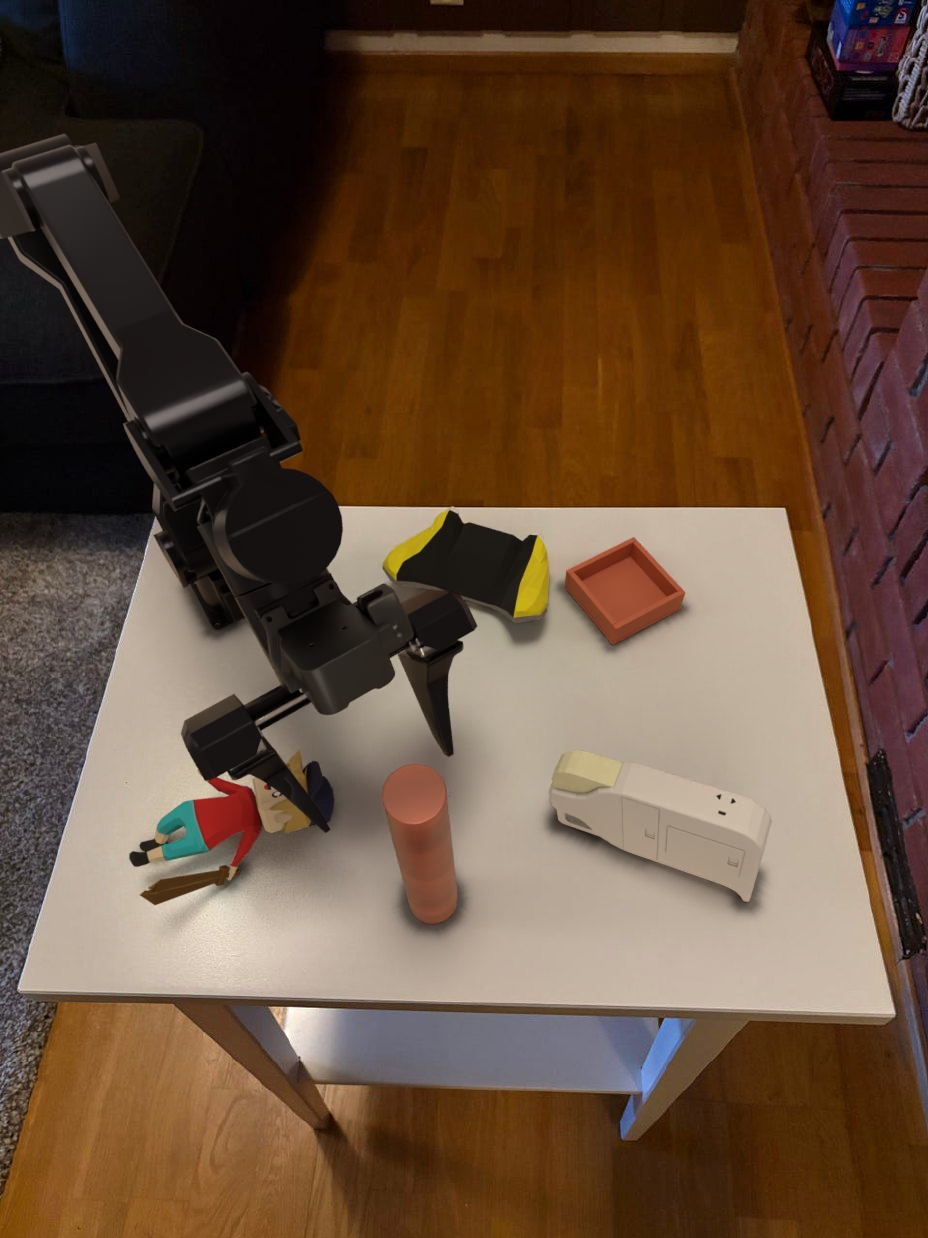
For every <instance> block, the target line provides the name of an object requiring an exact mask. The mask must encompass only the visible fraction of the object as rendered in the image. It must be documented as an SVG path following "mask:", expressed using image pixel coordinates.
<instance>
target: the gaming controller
mask: <svg viewBox="0 0 928 1238" xmlns="http://www.w3.org/2000/svg"><path fill="white" fill-rule="evenodd" d="M459 511H460V510H459V508H457V507H455V506H453V505H452V506H450V507H448V508H446V509H445V510H444V511H442V512H440V513H439V514H438V515H436V517H435V519H434V521H433V523H432V524H431V525H430V526H429V527H427V528H425V529H423V530H422V531H420V532H419V533H416V534H415V535H413V536H411V537H410V538H408V539H406V540H405V541H403V542H401V543H400V544H397V545H396V546H394V547H393V548H392V549H391V551H389V552H388V553H387V555H386V557H385V558H384V560H383V562H382V570H383V572H384V573H385V575H386V577H387V578H388V579H389V581H390V582H391V583H392V584H394V585H396V586H403V587H410V588H418V589H424V590H426V589H432V590H442V591H451V592H453V593H456V594H459V595H460V596H461V597H462V598H463V599H464V600H465V601H468V602H471V603H475V604H477V605H480V606H485V607H487V608H490V609H493V610H495V611H497V612H500V613H501V614H503V615H504V616H505V617H507V619H509V620H510V621H511V622H513V623H517V624H521V623H526V622H531V621H535V620H540V619H542V618H543V617H544V616H545V615H546V614H547V613H548V607H549V593H550V563H549V558H548V551H547V547H546V544H545V542H544V540H545V539H544V535H543V534H542V532H541V531H539V530H534V531H533V532H532V533H530V534H528V535H527V537H525V538H524V539H520V538H519V537H517V536H516V535H514V534H511V533H508V532H504V531H502V530H497V529H495V528H492V527H487V526H485V525H480V524H477V523H474V522H470V521H468V522H464V521H463V520H462V519H461V516H460V513H459Z"/></svg>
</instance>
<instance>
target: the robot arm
mask: <svg viewBox="0 0 928 1238" xmlns="http://www.w3.org/2000/svg"><path fill="white" fill-rule="evenodd" d="M121 199H122V197H121V195H120V193H119V190H118V189H117V186H116V184H115V182H114V179H113V177H112V175H111V172H110V170H109V168H108V166H107V164H106V161H105V159H104V157H103V154H102V152H101V150H100V148H99V146H98V143H97V142H92V143H89V144H85V145H79V144H76V145H74V143H73V142H72V140H71V139H70V138H69V136H68V135H67V134H66V133H61V134H58V135H56V136H52V137H48V138H45V139H42V140H39V141H36V142H33V143H29V144H26V145H23V146H19V147H17V148H12V149H10V150H6V151H3V152H0V239H1V240H3V239H8V241H9V243H10V245H11V247H12V249H13V250H14V253H15V254H16V256H17V258H18V260H19V261H20V262H21V263H22V264H23V265H25V266H26V267H28V268H29V269H30V270H32V271H33V272H35V273H36V274H38V275H39V276H40V277H42V278H43V279H44V280H46V281H47V282H48V283H50V284H51V285H53V286H54V287H56V288H57V289H58V290H59V291H60V293H61V295H62V297H63V298H64V300H65V302H66V304H67V306H68V308H69V310H70V312H71V314H72V316H73V318H74V320H75V321H76V324H77V325H78V327H79V329H80V331H81V333H82V335H83V337H84V339H85V341H86V343H87V345H88V347H89V349H90V350H91V353H92V355H93V357H94V358H95V360H96V362H97V364H98V366H99V369H100V370H101V372H102V374H103V376H104V378H105V379H106V381H107V384H108V386H109V387H110V390H111V391H112V393H113V395H114V398H115V399H116V401H117V403H118V405H119V407H120V408H121V411H122V413H123V415H124V416H125V418H126V420H127V421H126V422H124V423H122V425H123V428H124V430H125V433H126V434H127V437H128V439H129V441H130V444H131V445H132V448H133V450H134V451H135V453H136V456H137V457H138V459H139V460H140V462H141V464H142V466H143V467H144V469H145V471H146V473H147V475H148V476H149V478H150V479H151V481H152V482H153V492H152V505H151V506H152V507H151V510H152V513H153V515H154V517H155V519H156V521H157V523H158V524H159V526H160V528H161V531H159V532H157V533H155V534H153V536H152V537H153V538H154V540H155V542H156V543H157V545H158V547H159V549H160V551H161V553H162V555H163V557H164V558H165V560H166V562H167V563H168V565H169V567H170V569H171V570H172V571H173V573H174V575H175V577H176V578H177V580H178V582H179V583H180V585H181V587H182V588H183V589H186V588H188V587H191V589H192V591H193V592H194V595H195V597H196V598H197V601H198V602H199V605H200V606H201V608H202V610H203V612H204V614H205V616H206V618H207V621H208V622H209V624H210V626H211V628H212V629H213V630H214V631H219V630H222V629H224V628H227V627H228V626H231V625H233V624H235V623H237V622H239V621H242V620H244V619H245V620H246V622H247V624H248V626H249V627H250V629H251V631H252V633H253V635H254V637H255V638H256V641H257V642H258V644H259V647H260V648H261V650H262V652H263V654H264V655H265V658H266V659H267V661H268V663H269V664H270V667H271V669H272V670H273V672H274V674H275V676H276V679H277V680H278V682H279V683H280V684H279V685H277V686H276V687H274V688H271V689H270V690H268V691H266V692H265V693H263V694H261V695H260V696H258V697H256V698H254V699H251V700H250V701H249V702H247V703H245V704H244V703H243V702H242V700H240V698H239V697H238V696H237V695H236V694H235V693H233V694H231V695H229V696H227V697H224V698H223V699H222V700H220V701H217V702H216V703H214V704H212V705H210V706H209V707H207V708H205V709H203V710H201V711H199V712H197V713H196V714H194V715H192V716H190V717H188V718H186V719H185V720H184V721H183V724H182V728H181V731H180V736H181V738H182V741H183V743H184V746H185V748H186V750H187V753H188V754H189V756H190V758H191V759H192V762H193V763H194V764H195V767H196V768H197V769H198V770H199V772H200V773H201V775H202V776H201V775H200V776H201V777H202V778H203V780H204V782H207V780H211V779H214V778H217V777H218V778H219V777H221V776H222V775H223V774H225V773H227V774H228V776H229V778H230V779H231V780H232V781H238V780H239V781H240V780H241V779H243V778H245V777H247V776H252V777H253V778H254V777H256V778H258V779H260V780H262V781H263V782H265V783H266V784H268V785H269V786H271V787H272V788H274V789H275V790H277V791H278V792H280V793H281V794H282V795H284V796H285V797H286V798H287V799H288V800H289V801H290V802H292V803H293V804H294V805H295V806H296V807H297V808H298V809H299V810H300V811H301V812H303V813H304V814H305V815H306V816H307V817H308V818H309V819H310V820H311V821H312V822H313V823H315V824H316V825H315V826H316V827H317V828H319V829H320V830H321V831H322V832H323V833H324V834H327V833H329V832H330V831H331V827H330V825H329V823H327V822H326V820H325V818H324V816H323V814H322V812H321V811H320V809H319V808H318V807H317V805H316V804H315V803H314V801H313V800H312V799H311V797H310V796H309V795H308V793H307V792H306V791H305V789H304V788H303V787H302V785H301V784H300V783H299V781H298V780H297V779H296V777H295V776H294V775H293V773H292V772H291V771H290V769H289V768H288V767H287V765H286V763H285V761H284V760H283V759H282V756H280V754H279V753H278V752H277V750H276V749H275V748H274V747H273V745H272V744H271V742H270V741H268V739H267V738H266V737H265V736H264V734H263V732H262V731H264V730H265V729H267V728H269V727H271V726H272V725H274V724H276V723H277V722H279V721H281V720H283V719H285V718H287V717H288V716H290V715H292V714H294V713H295V712H297V711H299V710H301V709H302V708H305V707H306V706H308V705H310V704H311V705H312V706H313V707H314V708H315V710H316V711H317V713H319V714H320V715H321V716H322V715H324V716H330V715H332V716H333V715H335V714H337V713H340V712H342V711H345V709H347V708H348V706H349V704H350V703H352V702H354V701H355V700H357V699H359V698H360V697H362V696H364V695H366V694H367V693H369V692H371V691H373V690H375V689H376V690H381V689H382V688H385V687H386V686H388V685H389V684H390V683H391V682H392V681H393V680H394V678H395V677H396V670H395V667H394V665H393V663H392V659H391V658H393V657H395V656H397V657H398V659H399V661H400V663H401V665H402V668H403V671H404V673H405V675H406V677H407V680H408V682H409V684H410V686H411V689H412V691H413V694H414V696H415V698H416V700H417V702H418V705H419V707H420V710H421V712H422V714H423V716H424V718H425V721H426V723H427V726H428V728H429V730H430V733H431V734H432V737H433V738H434V740H435V742H436V743H437V745H438V746H439V748H440V750H441V751H442V753H443V755H444V756H446V757H448V758H450V757H452V756H454V754H455V749H454V742H453V741H454V740H453V739H454V738H453V731H452V722H451V713H450V702H449V674H450V669H451V666H452V665H453V664H452V663H453V661H454V658H455V656H457V655H459V654H460V653H462V652H463V651H464V647H465V646H464V645H465V644H464V641H462V640H460V639H462V638H464V637H466V636H467V635H469V634H472V633H473V632H474V631H475V630H476V629H477V628H478V623H477V622H476V619H475V617H474V616H473V613H472V611H471V609H470V607H469V606H470V605H468V603H467V601H466V600H465V599H463V598H462V597H461V596H460V595H459V594H456V593H453V592H451V591H442V590H432V589H424V590H423V591H420V592H419V593H417V594H415V595H413V596H411V597H409V598H407V599H406V600H404V601H402V602H401V601H400V599H399V597H398V595H397V593H396V591H395V590H394V589H393V588H392V587H391V586H389V585H388V584H387V583H386V582H384V583H381V584H379V585H378V586H376V587H374V588H372V589H370V590H368V591H365V592H364V593H363V594H360V595H359V596H357V598H356V601H355V602H352V601H350V600H349V598H348V597H346V595H344V594H343V592H342V591H341V588H340V587H339V585H338V583H337V581H336V580H335V578H334V576H333V575H332V573H331V572H330V571H329V569H328V567H329V566H330V565H331V563H332V562H333V561H334V559H335V558H336V557H337V554H338V552H339V549H340V547H341V544H342V538H343V532H344V527H343V516H342V512H341V509H340V507H339V506H340V505H339V503H338V501H337V499H336V498H335V496H334V494H333V493H332V492H331V491H330V490H329V489H328V488H327V487H326V486H325V485H324V484H323V483H322V482H321V481H320V480H319V479H317V478H316V477H313V476H312V475H310V474H309V473H306V472H304V471H301V470H299V469H295V468H286V467H285V468H284V467H282V465H281V464H282V463H284V462H285V461H287V460H289V459H292V458H294V457H297V456H298V455H299V454H302V453H303V452H304V449H303V446H302V444H301V442H300V441H301V440H302V438H301V435H300V432H299V427H298V424H297V422H296V421H295V420H294V419H293V418H292V416H291V415H290V414H289V413H288V412H287V411H286V409H284V407H283V406H282V405H281V404H280V403H279V401H278V400H277V399H276V398H275V397H274V396H273V395H272V393H271V391H269V390H268V388H267V387H265V386H264V385H262V384H259V383H258V382H257V380H256V379H255V378H254V377H253V375H252V374H251V373H249V372H248V371H245V372H243V373H242V372H241V371H240V369H239V368H238V366H237V365H236V363H235V362H234V361H233V359H232V357H231V356H230V355H229V353H228V352H227V351H226V349H225V347H224V346H223V344H222V343H221V342H220V341H219V340H218V339H217V338H216V337H213V336H211V335H209V334H207V333H204V332H202V331H200V330H198V329H196V328H193V327H191V326H189V325H187V324H185V323H184V322H183V320H182V319H181V317H180V316H179V314H178V313H177V311H176V310H175V308H174V307H173V305H172V304H171V302H170V301H169V298H168V297H167V296H166V293H165V292H164V290H163V289H162V287H161V286H160V284H159V282H158V280H157V279H156V277H155V275H154V274H153V272H152V271H151V269H150V268H149V266H148V264H147V262H146V261H145V259H144V258H143V256H142V254H141V253H140V251H139V250H138V248H137V246H136V245H135V243H134V242H133V240H132V239H131V237H130V235H129V233H128V232H127V230H126V229H125V227H124V225H123V223H122V222H121V220H120V218H119V217H118V215H117V214H116V212H115V210H114V209H113V206H112V205H111V204H114V203H115V202H117V201H120V200H121ZM262 433H264V435H262Z"/></svg>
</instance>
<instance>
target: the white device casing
mask: <svg viewBox="0 0 928 1238" xmlns="http://www.w3.org/2000/svg"><path fill="white" fill-rule="evenodd" d="M548 797H549V803H550V806H551V807H553V808H554V809H555V810H556V816H557V820H558V821H559V823H561V824H563V825H565V826H568V827H571V828H574V829H576V830H580V831H583V832H586V833H588V834H592V835H594V836H597V837H600V838H601V839H603V840H604V841H606V842H608V843H609V844H611V845H612V846H614V847H616V848H617V849H620V850H622V851H624V852H627V853H630V854H632V855H634V856H635V855H636V856H638V857H642V858H645V859H647V860H650V861H654V862H655V863H659V864H662V865H664V866H668V867H670V868H673V869H675V870H679V871H682V872H685V873H687V874H690V875H693V876H696V877H699V878H702V879H705V880H708V881H710V882H713V883H715V884H718V885H722V886H724V887H726V888H728V889H731V890H733V891H734V892H736V893H737V894H738V895H739V897H740V898H741V900H742V901H743V902H746V903H749V902H750V900H751V898H752V894H753V891H754V888H755V884H756V880H757V877H758V874H759V870H760V867H761V862H762V859H763V857H764V852H765V848H766V845H767V841H768V838H769V837H768V836H769V833H770V830H771V825H772V816H771V813H770V812H769V810H767V809H766V807H764V806H763V805H762V804H760V803H759V802H758V801H756V800H754V799H751V798H748V797H746V796H745V795H741V794H737V793H734V792H731V791H729V790H728V791H727V790H725V789H722V788H718V787H715V786H712V785H708V784H705V783H702V782H698V781H696V780H692V779H689V778H685V777H683V776H679V775H675V774H673V773H669V772H666V771H663V770H660V769H656V768H654V767H650V766H646V765H643V764H639V763H635V762H629V761H620V760H619V761H618V760H615V759H612V758H609V757H606V756H602V755H599V754H596V753H592V752H590V751H586V750H570V751H566V752H565V751H564V753H562V754H560V757H559V758H558V761H557V763H556V766H555V768H554V771H553V773H552V775H551V784H550V787H549V789H548Z"/></svg>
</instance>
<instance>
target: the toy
mask: <svg viewBox="0 0 928 1238" xmlns="http://www.w3.org/2000/svg"><path fill="white" fill-rule="evenodd" d="M302 761H303V759H302V751H301V749H299V750H297V752H296V753H294V754H293V755H292V756H291V758H290V760H289V761H288V762H286V763H285V764H286V765H287V767H288V768H289V769H290V771H291V772H292V773H293V775H294V776H295V777H296V779H297V780H298V781H299V783H300V784H301V785H302V787H303V788H304V789H305V791H306V792H307V793H308V795H309V796H310V797H311V799H312V800H313V801H314V803H315V804H316V805H317V807H318V808H319V809H320V811H321V812H322V814H323V816H324V818H325V820H326V822H327V823H328V824H329V823H330V822H331V821H332V817H333V813H334V807H335V795H334V788H333V786H332V785H331V783H330V781H329V780H328V778H327V777H326V776H325V775H323V772H322V769H321V766H320V762H319V761H317V760H311V761H310V762H308V763H307V764H306V765H305V766H304V768H303V762H302ZM196 772H197V773H198V774H199V776H201V777H202V775H201V773H200V772H199V770H198V768H197V769H196ZM206 782H207V783H208V784H209V785H210V786H211V787H212V788H214V789H215V790H216V791H218V793H219V792H220V793H223V794H225V795H226V796H217V797H206V798H196V799H189V800H184V801H182V802H181V803H180V804H179V805H177V806H176V807H175V808H173V809H171V810H170V811H169V812H168V813H166V814H165V815H164V816H163V817H162V818H160V819H159V821H158V823H157V825H156V829H155V835H154V838H153V839H149V840H144V841H141V842H140V843H139V844H138V846H139V849H140V850H141V851H137V850H136V851H134V850H132V851H131V852H129V853H128V856H129V857H128V860H129V861H130V863H131V865H132V866H133V867H134V868H140V867H142V866H146V865H149V864H150V863H158V862H167V861H173V860H174V861H175V860H177V859H182V858H183V859H184V858H188V857H193V856H197V855H201V854H205V853H209V852H211V851H213V849H214V848H216V847H217V846H219V845H220V844H221V843H223V842H225V841H226V840H228V839H229V838H231V837H233V836H235V835H237V834H240V833H242V835H241V838H240V840H239V843H238V846H237V848H236V851H235V853H234V856H233V859H232V860H231V863H230V864H229V865H227V864H223V865H220V866H219V867H218V869H216V870H211V871H204V872H197V873H192V874H186V875H179V876H173V877H167V878H161V879H159V880H157V881H156V882H154V883H153V884H151V885H150V886H149V887H147V888H148V889H145V890H143V891H142V892H141V893H140V894H139V896H140V897H142V898H143V899H145V900H146V901H148V902H149V903H151V904H152V905H154V906H157V905H160V904H163V903H166V902H169V901H171V900H174V899H176V898H179V897H182V896H185V895H187V894H190V893H193V892H195V891H199V890H201V889H203V888H206V887H209V886H212V885H215V886H216V887H221V886H222V887H223V886H225V883H226V881H231V880H232V879H233V877H237V876H240V873H241V870H240V869H239V866H238V865H240V863H241V862H242V861H244V860H243V859H245V857H246V856H247V855H248V854H249V853H250V851H251V850H252V847H253V845H255V842H256V841H257V839H258V837H259V836H260V834H261V833H262V831H263V828H264V831H265V832H268V833H271V834H272V833H276V832H279V831H282V832H283V833H284V834H289V833H292V832H295V831H299V830H302V829H305V828H307V827H309V828H311V827H312V826H313V827H314V826H317V825H316V824H315V823H313V822H312V821H311V820H310V819H309V818H308V817H307V816H306V815H305V814H304V813H303V812H301V811H300V810H299V809H298V808H297V807H296V806H295V805H294V804H293V803H292V802H290V801H289V800H288V799H287V798H286V797H285V796H284V795H282V794H281V793H280V792H278V791H277V790H275V789H274V788H272V787H271V786H269V785H268V784H266V783H265V782H263V781H262V780H260V779H258V778H256V777H254V776H253V778H252V785H253V788H252V787H250V786H247V785H241V784H239V783H236V782H232V781H229V780H225V779H223V778H220V777H219V776H218V777H217V778H214V779H211V780H207V781H206ZM182 828H184V829H185V833H186V834H185V835H184V837H181V838H178V839H176V840H174V841H172V842H169V843H168V839H169V838H170V837H171V835H172V834H173V833H176V832H177V831H179V830H180V829H182Z"/></svg>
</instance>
